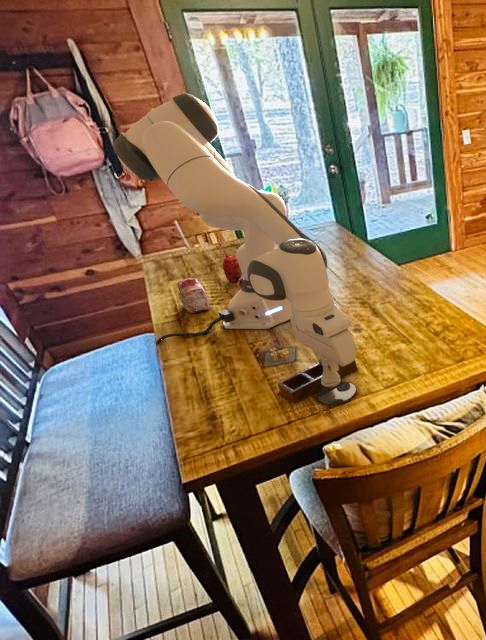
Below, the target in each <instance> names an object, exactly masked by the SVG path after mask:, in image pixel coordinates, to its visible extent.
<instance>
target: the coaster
mask: <svg viewBox="0 0 486 640" xmlns="http://www.w3.org/2000/svg"><path fill="white" fill-rule="evenodd" d="M356 394H357V387H356V386H355V384H353V383H352V382H349V381H340V383H339V384H338V385H337V386H334V387H324V388H322V389H320V390H319V392H318V395H317V399H318V401H319V403H321V404H323V405H325V406H338V405H342V404H345V403H347V402H349V401H350V400H352V399H353V398H354V397H355V395H356Z"/></svg>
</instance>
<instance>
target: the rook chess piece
mask: <svg viewBox="0 0 486 640" xmlns="http://www.w3.org/2000/svg"><path fill="white" fill-rule="evenodd" d="M320 359H321V360H322V365H323V374H321V375H322V377H321V381H322V382H321V384H322V385H323V386H325V387H334V386H337V385H338V384H339V383H340V382H342V381H341V379H342V378H340V376H339V374H338V373H337V372H335V373H333V372H331V371H329V368H328V365H329V364H330V361H328V358H326V357H324V356H322V355H321V356H320Z"/></svg>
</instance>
